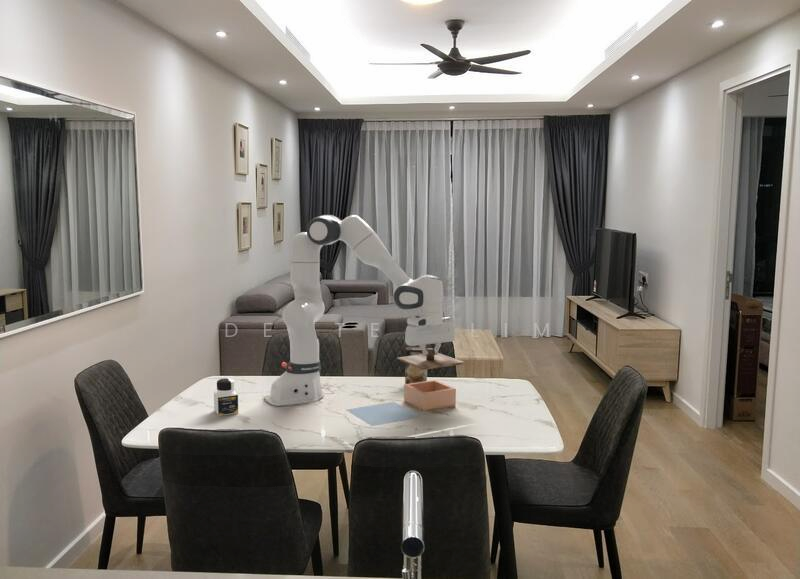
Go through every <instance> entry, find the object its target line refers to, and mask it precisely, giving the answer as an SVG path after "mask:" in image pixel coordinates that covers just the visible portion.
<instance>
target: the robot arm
mask: <svg viewBox="0 0 800 579" xmlns="http://www.w3.org/2000/svg"><path fill="white" fill-rule="evenodd" d="M339 241H342V242H343V243H345V244H346V245H347V246H348V248H349V249H350V251H351V252H352V253H353V254H354V255H355V257H357V258H358V259H359V260H360V261H361V262H362V263H363V264H365V265H368V266H372V267H374V268H377V269H378V270H380V271H381V272H383V273H384V274H385V276H386V277H387V278H388V279H389V280H390V282H392V284H393V285H394V286H395V287H396V289H395V291H394V293H393V301H394V304H395V305H396V307H397V308H399V309H402V310H407V311H408V310H413V309H418V313H416V314H414V315H412V316H410V317H408V318H407V319H406V323H407V326H406V328H405V332H404V335H405V337H404V341H405V344H406V345H407V346H408V347H418V346H419V347H420V348H421V350H422V355H423V356H428V351H426V349H425V348H427V345H433V344H434V348H433V349H435V353H434V355H438V353H439V350H440V348H441V346H442V343H449V342H454V341H455V338H456V334H455V333H456V332H455V320H454V319H453V318H452V317H451V316H446V317H444V310H443V309H444V308H443V301H444V287H443V286H444V284H443V281H442V279H441V278H440V277H439V276H436V275H432V274H422V275H421V276H419V277H417V278H416V279H414V278H412V277H411V276H409V275H408V274H407V273H406V272H405V270H404V269H403V268H402V267H401V266H400V265H399V264H398V262H397V261H396V260H395V259H394V258H393V257H392V256H393V255H392V254H391V253H390V251H388V249H387V248H386V246H385V244H384V242H383V240H381V239H380V237H379V235H378V234H377V232H376V231H375V230H374V229H373V228H372V227H371V226H370V225H369V224H368V223H367V222H366V221H365V220H364V219H362V218H361V217H360V216H359V215H357V214H351V215H348V216H347V217H344V219H341V218H340V217H339V216H337V215H333V214H322V215H320V216H319V215H318V216H316V217H313V218H312V219H311V220H310V221H309V222H308V224H307V226H306V231H302V232H299V233H296V234H295V235H294V236H293V239H292V244H291V249H290V259H289V260H290V264H289V265H290V266H289V268H290V269H289V272H290V273H289V275H290V276H289V277H290V278H289V282H290V284H291V286H292V289H293V295H294V300H292V301H290V302H289V303H288V304H287V305H286V307H284V309H283V311H282V320H283V323H284V325H286V330H287V332H288V337H289V348H290V349H289V350H290V352H289V353H290V356H289V357H290V360H289V361H288V362H285V361H282V362H281V367H282V368H284V369H285V371H284V372H283V373H282V374H280V376H279V377H278V378H276V379H275V380H273V382H272V383H271V387H270V392H269V393H268V394H265V395H264V400H265V401H266V402H267V403H268V404H270V405H272V406H278V407H279V406H280V407H282V406H292V405H303V404H311V403H317V402H318V401H319V400H321V399H322V398H324V392H323V389H322V384H321V383H322V382H321V376H320V375H321V369H322V368H321V360H320V340H319V339H318V337H317V333H316V328H315V324H316V322H318V321H320V319H321V318H322V317H323V315H324V313H325V311H326V310H325V309H326V308H325V306H326V305H325V303H324V301H323V295H322V289H321V283H320V281H321V280H320V271H321V270H320V267H321V266H320V264H321V261H320V260H321V259H320V258H321V256H320V255H321V254H320V253H321V250H322V248H323V246H327V245H332V244H335V243H337V242H339Z"/></svg>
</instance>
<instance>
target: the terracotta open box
mask: <svg viewBox="0 0 800 579" xmlns="http://www.w3.org/2000/svg"><path fill="white" fill-rule="evenodd" d="M403 387H404V388H403V401H404V402H405V403H407V404H409V405H410V406H411V405H412V406H413V407H415V408H417V409H419V410H421V411H423V412H427V411H433V410H438V409H443V408H448V409H452V408H455V407H456V402H457V399H456V398H457V389H456V388H455V387H453V386H450V385H448V384H445V383H443V382H441V381H439V380H437V379H433V380H427V381H424V382H418V383H411V384H405V383H404V386H403Z"/></svg>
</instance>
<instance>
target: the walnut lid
mask: <svg viewBox="0 0 800 579" xmlns="http://www.w3.org/2000/svg"><path fill="white" fill-rule="evenodd" d="M427 348H428V347H427ZM426 351H428V356H423V355H422V354H420V355H413V356H406V355H405V356H400V357H398V356H397V360H398V361H400V362H402V363H405V364H406V363H407V364H410V365H412V366H415V367H417V368H420V369H422V370H426V369H427V370H431V369H440V368H446V367H452V366H453V367H454V366H459V365H465V361H463V360H460V359H457V358H454V357H451V356H448V355H446V354H442V353H441V352H440V353H439V352H438V355H434V353H435V349H434V348H431V347H429V348H428V349H427V350H426Z"/></svg>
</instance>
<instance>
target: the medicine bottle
mask: <svg viewBox="0 0 800 579" xmlns="http://www.w3.org/2000/svg"><path fill="white" fill-rule="evenodd" d="M238 394H239V393H237V392H236V391H235V380H234V379H233V378H229V377H227V378H226V377H225V378H220V379H219V380H216V391H213V405H214V406H213V410H214V412H215V413H216V415H217V416H219V417H221V416H228V415H235V414H236V415H237V414H239V395H238Z"/></svg>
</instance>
